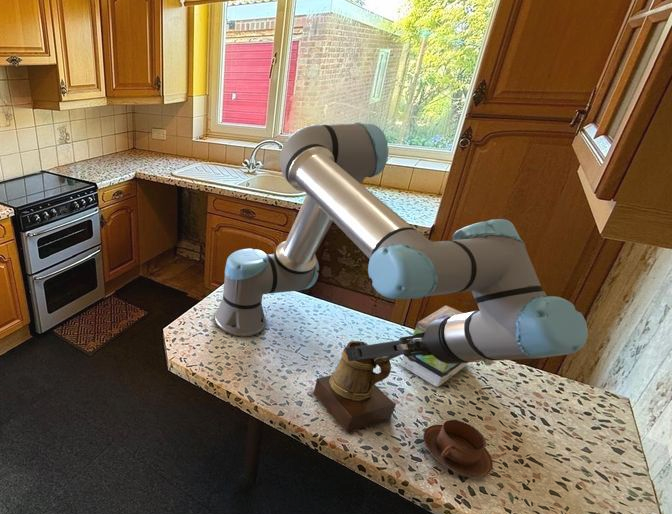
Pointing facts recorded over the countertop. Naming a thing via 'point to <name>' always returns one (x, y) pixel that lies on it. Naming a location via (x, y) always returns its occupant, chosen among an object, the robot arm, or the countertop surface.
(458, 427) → the cup and saucer
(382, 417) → the walnut block
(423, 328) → the tea box
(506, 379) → the countertop surface
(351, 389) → the wooden mug
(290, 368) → the countertop surface
